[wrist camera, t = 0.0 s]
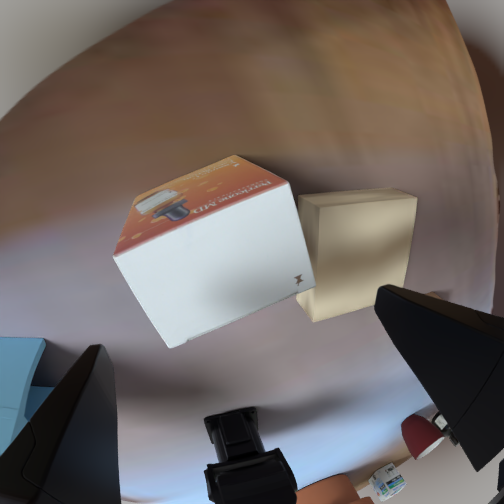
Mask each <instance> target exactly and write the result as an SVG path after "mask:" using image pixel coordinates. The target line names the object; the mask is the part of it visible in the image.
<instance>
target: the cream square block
mask: <svg viewBox="0 0 504 504" xmlns="http://www.w3.org/2000/svg"><path fill="white" fill-rule="evenodd" d="M417 199H418V198H417V197H414V196H412V195H409V194H407V193H404V192H402V191H399V190H396V189H394V188H378V189H363V190H350V191H338V192H327V193H316V194H306V195H298V216H299V219H300V223H301V227H302V231H303V235H304V239H305V242H306V246H307V250H308V254H309V258H310V262H311V266H312V270H313V274H314V278H315V282H316V286H315V287H314V288H311V289H309V290H306V291H304V292H302V293H299V294H297V299H296V300H297V301H298V303H299V304H300V305H301V307H302V308H303V309H304V311H305V312H306V313H307V315H308V316H309V317H310V319H311V320H312V321H313V322H317V321H320V320H324V319H328V318H331V317H335V316H338V315H342V314H345V313H348V312H352V311H355V310H358V309H362V308H365V307H368V306H371V305H374V304H375V300H376V295H377V290H378V288H379V287H380V286H383V285H386V284H391V285H395V286H398V287H401V288H403V284H404V279H405V274H406V269H407V264H408V259H409V254H410V248H411V242H412V236H413V230H414V223H415V215H416V207H417Z"/></svg>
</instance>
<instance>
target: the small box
mask: <svg viewBox="0 0 504 504" xmlns="http://www.w3.org/2000/svg"><path fill="white" fill-rule="evenodd" d="M113 258H114V260H115V262H116V264H117V265H118V267H119V269H120V271H121V273H122V274H123V276H124V278H125V280H126V281H127V283H128V285H129V286H130V288H131V290H132V292H133V293H134V295H135V297H136V298H137V300H138V301H139V303H140V305H141V306H142V308H143V310H144V311H145V313H146V314H147V316H148V317H149V319H150V321H151V322H152V324H153V325H154V327H155V328H156V330H157V331H158V333H159V334H160V336H161V337H162V339H163V340H164V341H165V343H166V344H167V346H168V347H169V348H174V347H176V346H179V345H181V344H184V343H186V342H187V341H189V340H192V339H194V338H196V337H198V336H201V335H203V334H206V333H208V332H210V331H213V330H215V329H218V328H220V327H222V326H225V325H227V324H229V323H232V322H234V321H236V320H239V319H241V318H243V317H246V316H248V315H250V314H252V313H255V312H257V311H259V310H262V309H264V308H266V307H268V306H271V305H273V304H275V303H277V302H280V301H282V300H284V299H287V298H289V297H291V296H294V295H296V294H299V293H302V292H304V291H306V290H309V289H311V288H314V287H315V286H316V282H315V278H314V274H313V270H312V266H311V262H310V258H309V254H308V250H307V246H306V242H305V239H304V235H303V231H302V227H301V223H300V219H299V216H298V212H297V208H296V205H295V201H294V198H293V195H292V191H291V187H290V184H289V182H288V181H286V180H284V179H282V178H281V177H278V176H277V175H275V174H273V173H271V172H269V171H267V170H265V169H263V168H261V167H259V166H257V165H255V164H253V163H251V162H249V161H247V160H245V159H243V158H241V157H239V156H237V155H232V156H230V157H228V158H225V159H223V160H220V161H218V162H216V163H213V164H211V165H209V166H206V167H204V168H201V169H199V170H196V171H194V172H191V173H189V174H187V175H184V176H182V177H179V178H177V179H174V180H172V181H170V182H167V183H165V184H163V185H161V186H158V187H156V188H154V189H152V190H149V191H147V192H145V193H143V194H140V195H138V196H137V197H136V198H135V200H134V203H133V205H132V207H131V210H130V212H129V215H128V217H127V220H126V222H125V225H124V227H123V230H122V233H121V235H120V238H119V241H118V243H117V246H116V249H115V251H114V254H113Z"/></svg>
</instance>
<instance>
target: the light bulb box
mask: <svg viewBox="0 0 504 504" xmlns="http://www.w3.org/2000/svg"><path fill="white" fill-rule="evenodd" d="M368 481H369V483H370V484H371V486H372V488H373V489H374V491H375V493H376V494H377V496H378V498H379V499H380V501H381V502H383V501H385V500H386V499H388V498H390V497H392V496H394V495H396V494H397V493H398V492H399V491H400V490H401V489H403V488H404V487H405V486H406V485H407V484H406V482H405V481H404V480H403V478H402V477H401V475H400V473H399V472H398V471H397V469H396V468H395V466H394V465H393V463H392V462H391V463H390V464H388V465H386V466H384V467H382V468H380V469H379V470H377V471H375V473H374V474H373V475H372V476H371V478H370V479H369V480H368Z"/></svg>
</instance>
